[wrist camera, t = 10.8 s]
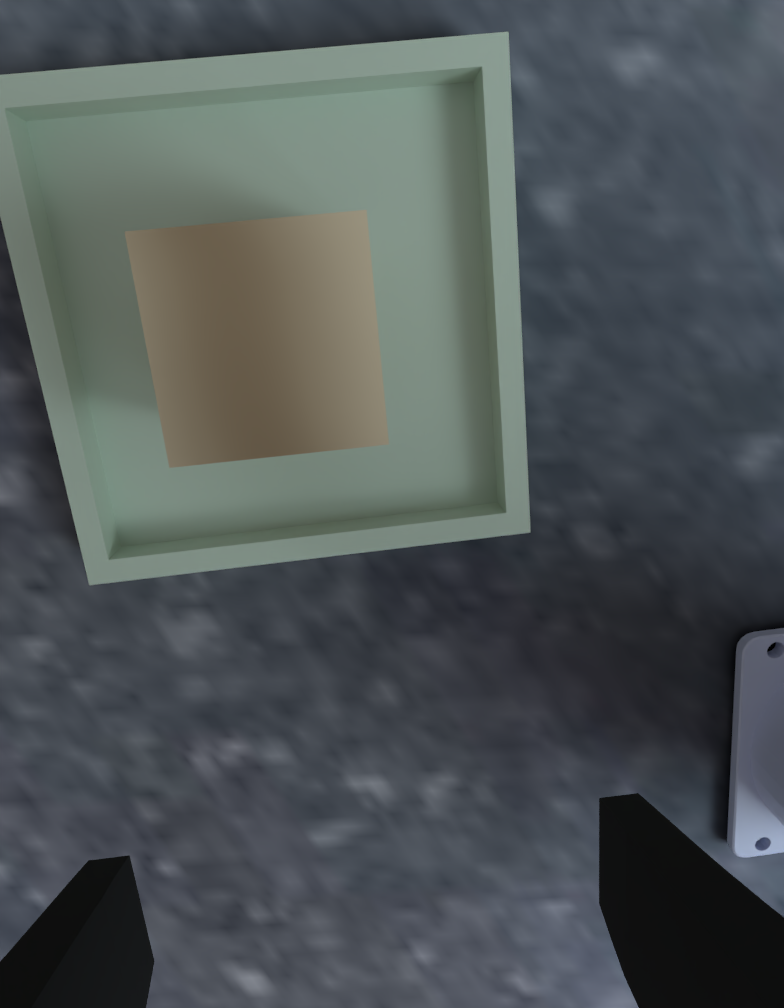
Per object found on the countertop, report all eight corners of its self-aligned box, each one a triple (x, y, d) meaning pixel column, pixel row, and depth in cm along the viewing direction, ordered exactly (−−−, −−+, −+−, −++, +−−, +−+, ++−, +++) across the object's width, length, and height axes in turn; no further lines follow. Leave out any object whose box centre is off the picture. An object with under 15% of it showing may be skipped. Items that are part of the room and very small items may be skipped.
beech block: (358, 240, 16) (366, 209, 11) (375, 408, 17) (389, 444, 12) (188, 256, 16) (124, 231, 11) (217, 424, 17) (169, 468, 12)
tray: (493, 57, 16) (508, 31, 14) (515, 515, 19) (530, 532, 17) (1, 100, 15) (-34, 77, 14) (108, 563, 18) (89, 585, 17)
